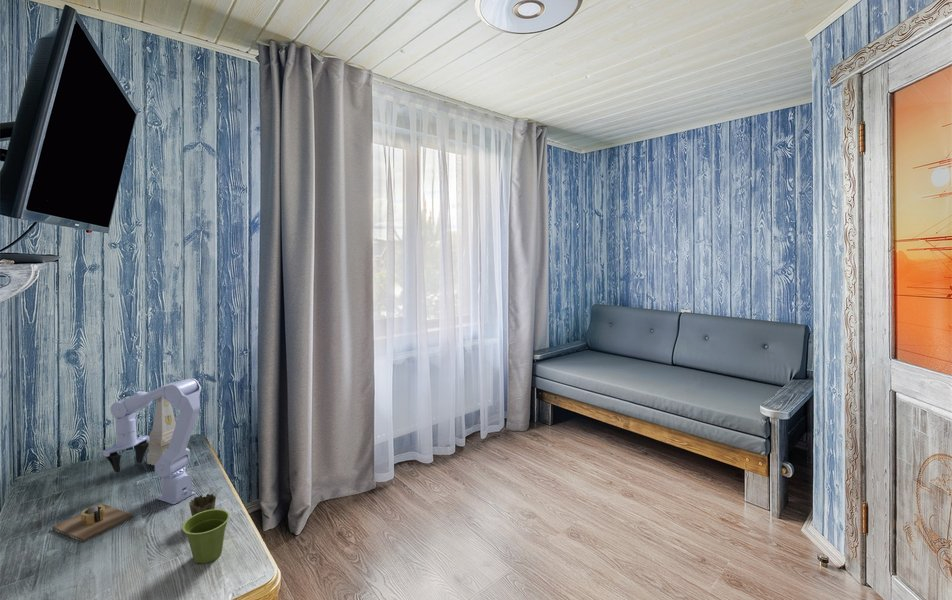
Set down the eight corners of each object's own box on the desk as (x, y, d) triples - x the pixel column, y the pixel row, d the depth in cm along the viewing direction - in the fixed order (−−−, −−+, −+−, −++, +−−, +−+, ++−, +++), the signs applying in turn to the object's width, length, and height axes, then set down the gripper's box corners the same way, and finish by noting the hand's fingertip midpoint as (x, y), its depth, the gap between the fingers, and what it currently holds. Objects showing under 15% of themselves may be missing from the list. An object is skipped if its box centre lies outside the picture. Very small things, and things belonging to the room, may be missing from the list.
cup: (188, 531, 141) (187, 508, 140) (192, 518, 148) (191, 496, 147) (214, 526, 144) (214, 503, 143) (218, 513, 151) (217, 491, 150)
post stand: (133, 517, 147) (132, 501, 147) (83, 542, 134) (82, 525, 134) (102, 506, 153) (101, 491, 152) (52, 529, 140) (51, 513, 139)
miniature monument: (162, 468, 180) (158, 398, 176) (145, 463, 183) (141, 394, 180) (186, 458, 189) (183, 390, 186) (170, 453, 193) (167, 387, 190)
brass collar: (78, 523, 142) (77, 512, 142) (97, 513, 147) (97, 503, 147) (88, 527, 140) (88, 516, 140) (108, 517, 145) (107, 507, 145)
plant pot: (174, 563, 127) (172, 527, 125) (212, 539, 138) (210, 505, 136) (203, 575, 122) (201, 537, 121) (239, 549, 133) (238, 514, 132)
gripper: (140, 422, 169) (142, 456, 170) (96, 437, 155) (99, 473, 157) (152, 425, 166) (154, 459, 168) (109, 440, 153) (111, 477, 154)
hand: (128, 466), depth 162 cm, fingers open, 7 cm apart
